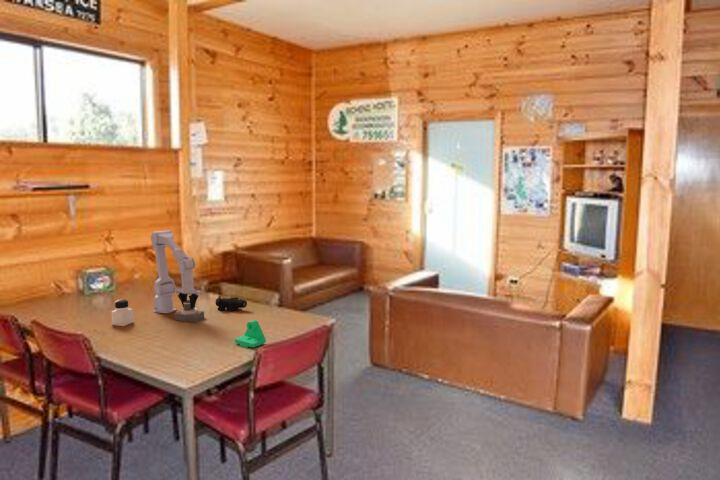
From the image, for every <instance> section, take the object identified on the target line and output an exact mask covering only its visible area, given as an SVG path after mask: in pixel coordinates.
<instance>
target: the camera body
mask: <svg viewBox="0 0 720 480" xmlns="http://www.w3.org/2000/svg"><path fill="white" fill-rule="evenodd" d="M202 319H205V311H203V310H198V308H197V307H195V308H193V311H184V308H182V309H180V311H178V312H175V313H174V321H177V322H178V321H179V322H189V323H197V322H198V321H201V320H202Z"/></svg>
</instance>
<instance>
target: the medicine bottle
mask: <svg viewBox="0 0 720 480" xmlns="http://www.w3.org/2000/svg"><path fill="white" fill-rule="evenodd" d="M132 323H134V309H133V308H130V307H129V301H128V300H127V299H117V300H116V301H114V310H111V325H112V326H118V327H126V326H127V325H131V324H132Z"/></svg>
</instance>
